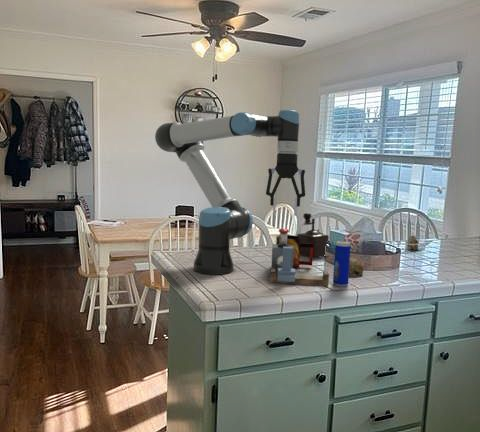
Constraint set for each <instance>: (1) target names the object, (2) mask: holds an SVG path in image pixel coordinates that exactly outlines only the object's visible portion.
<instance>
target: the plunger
mask: <svg viewBox="0 0 480 432" xmlns="http://www.w3.org/2000/svg"><path fill="white" fill-rule="evenodd" d="M278 232H279V235H280V244H279V247H283V246H285V247H287V235H288V233H289V232H290V231H289V228H279V229H278Z"/></svg>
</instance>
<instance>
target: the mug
mask: <svg viewBox="0 0 480 432" xmlns="http://www.w3.org/2000/svg"><path fill="white" fill-rule="evenodd" d="M275 239H276V240H275V241H276V243H275V244H280V234H279V235H277V236H276V238H275ZM287 245H294V259H293V269H295V270H297V269H300V266H313V259H314V258H313V256H312V255H313V243H301V237H299V236H297V235H289V234H287ZM300 247H309V248H310V257H309V260H300V259H301V258H300V257H301V255H300Z"/></svg>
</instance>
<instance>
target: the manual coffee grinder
mask: <svg viewBox="0 0 480 432" xmlns="http://www.w3.org/2000/svg"><path fill="white" fill-rule="evenodd" d="M302 217H303V219H304V220H305V221H304V223H303V225H304V226H307V225H311V229H309V230H307V231H306V232H303V233H297V234H296V236H299V237H301V243H313V255H312V256H313V259H315V258H322V257H325V256H324V255H325V246H326V242H327V241H328V242H329V238H330V237H329V236H330V235H327V234H324V233H322V232H320V229H315V223H316V222H315V218H312V214H311V213H310V212H305V213H303V214H302ZM311 218H312V219H311ZM300 256H303V257H307V258H310V248H309V247H300Z"/></svg>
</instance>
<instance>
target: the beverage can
mask: <svg viewBox="0 0 480 432" xmlns="http://www.w3.org/2000/svg"><path fill="white" fill-rule="evenodd" d="M334 246H335V247H334V263H333V277H332V278H333V279H332V283H333V285H335V286H338V287H346V286H348V285H349V279H350V278H349V277H350V276H349V262H350V258H351V247H352V246H351V242H350V241H345V240H338V241H336V242H335V244H334Z"/></svg>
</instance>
